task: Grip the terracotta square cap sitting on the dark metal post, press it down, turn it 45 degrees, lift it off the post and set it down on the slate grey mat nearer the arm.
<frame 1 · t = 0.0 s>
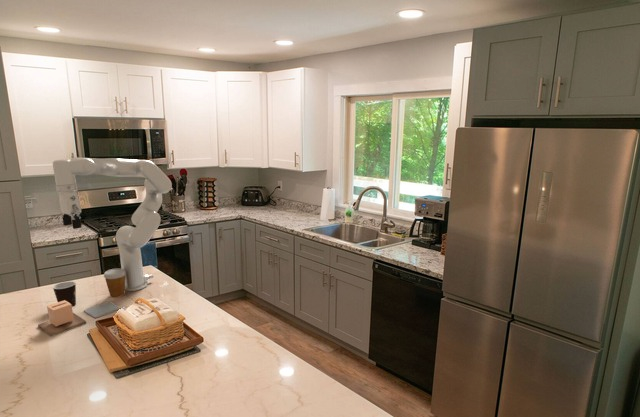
hand: (72, 226, 173), 37 cm above the kitchen island, tool pointing down, fingers open, 9 cm apart
post base: (62, 324, 162), on the kitchen island
disposable coffee cup: (117, 295, 190), on the kitchen island
cap: (61, 320, 161), point 2 cm above the kitchen island, touching post base
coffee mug: (69, 304, 181), on the kitchen island
mat: (102, 310, 174), on the kitchen island
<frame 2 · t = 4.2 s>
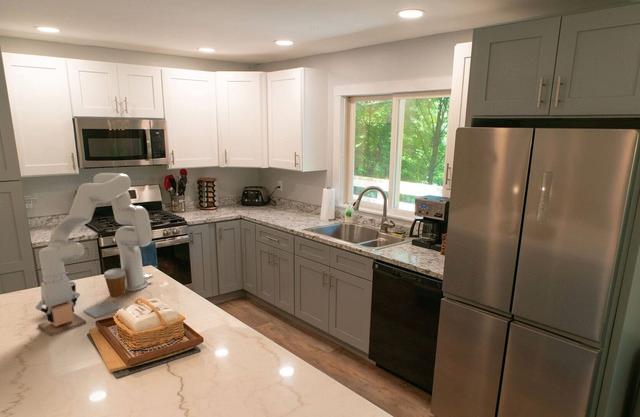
hand: (61, 317, 161), 3 cm above the kitchen island, tool pointing down, fingers closed on cap, 6 cm apart
cap: (61, 320, 161), point 2 cm above the kitchen island, touching gripper, post base
everything else where it was.
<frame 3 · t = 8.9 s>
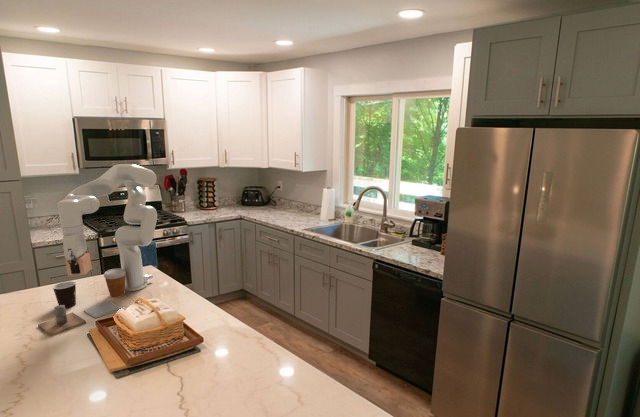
hand: (80, 269, 165), 21 cm above the kitchen island, tool pointing down, fingers closed on cap, 6 cm apart
cap: (80, 272, 165), point 20 cm above the kitchen island, touching gripper
everything else where it was.
when the fingers open (4 cm above the kitchen island, at t = 13.8 s): cap drops 2 cm, resting on mat.
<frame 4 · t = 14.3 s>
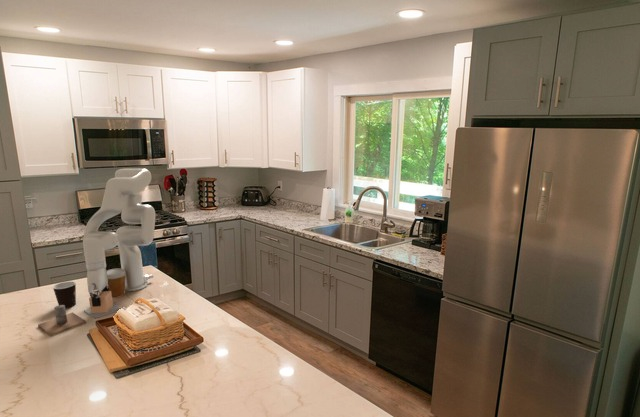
hand: (101, 301, 173), 4 cm above the kitchen island, tool pointing down, fingers open, 9 cm apart
cap: (102, 309, 174), point 1 cm above the kitchen island, touching mat
everything else where it was.
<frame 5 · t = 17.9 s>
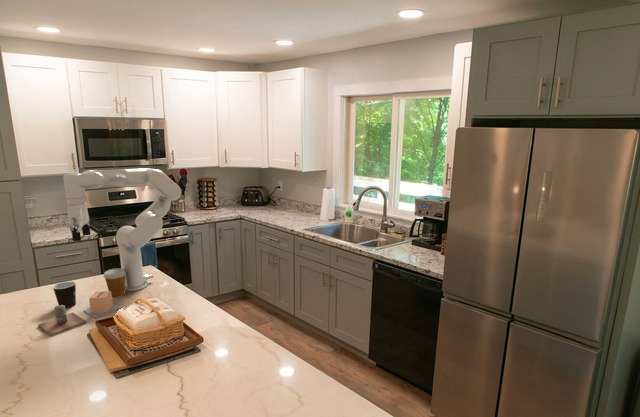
hand: (82, 237, 179), 30 cm above the kitchen island, tool pointing down, fingers open, 9 cm apart
nothing on the kitchen island moved.
at the end: cap inside the target area on the mat (0.2 cm from its centre), point 0.6 cm above the mat's base; cap tilted 0°; the gripper is holding nothing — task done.
